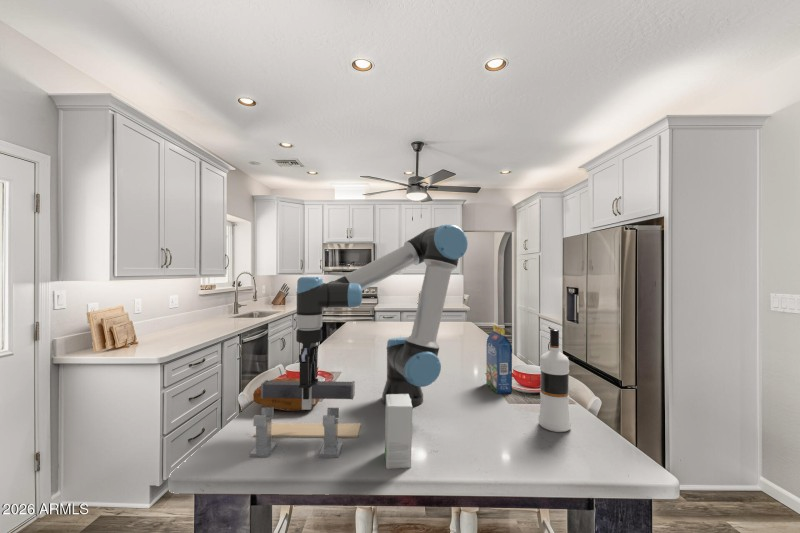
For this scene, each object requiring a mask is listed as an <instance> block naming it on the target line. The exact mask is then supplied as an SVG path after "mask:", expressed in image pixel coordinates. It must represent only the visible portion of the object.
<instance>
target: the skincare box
mask: <svg viewBox="0 0 800 533" xmlns="http://www.w3.org/2000/svg"><path fill="white" fill-rule="evenodd" d="M413 409H414V407H413V406H412V403H411V399H410V397H409V394H386V404H385V417H384V418H385V420H384V421H385V423H384V424H385V427H384V459H385V469H389V470H390V469H391V470H392V469H408V468H409V469H411V468H412V442H413V441H412V439H413Z"/></svg>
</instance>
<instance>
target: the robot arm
mask: <svg viewBox="0 0 800 533" xmlns="http://www.w3.org/2000/svg"><path fill="white" fill-rule="evenodd" d="M467 238H468V237H467V235H466V234H465V232H464V230H462V228H460V226H458V225H455V224H442V225H439V226H435V227H430V228H427V229H425V230H423V231H422V232H420V233H419V234H417V235H415V236H414V237H412V238H410V239H409V240H406V241H405V242H404V244H403V246H401V247H399V248H397V249H395V250H393V251H391V252H388V253H386V254H385V255H383V256H381V257H379V258H377V259H375V260H373V261H371V262H369V263H367V264H365V265H363V266H361V267H359V268H358V269H355V270H353V271H350V272H349V273H348V274H345V275H343V276H342V277H339V278H337V279H335V280H331V281H329V282H327V283H325V282H324V281H323V280H324V279H323V277H321V276H302V277H299V278H298V279H297V283H296V317H295V318H294V320H295V321H296V328H297V330H296V331H295V332H296V334H295V335H296V336H295V338H296V342H297V343H299V344H302V348H301V349H300V354H299V355H298V360H299V378H300V386H299V388H302V410H301V411H305V410H307V411H309V410H312V408H313V407H312V404H315V399H312V387H311V381H319V378H317V377H318V358H319V357H318V356H319V354H318V352H319V345H318V344H317V343H320V342H322V341H323V329H322V327H323V309H330V308H331V309H333V308H334V309H336V308H341V309H342V308H348V309H351V308H358V307H360V306H361V304H362V301H363V291H364V290H366V289H368V288H370V287H372V286H374V285H376V284H377V283H379V282H381V281H383V280H385V279H388V278H389V277H392V276H393V275H395V274H397V273H399V272H401V271H402V270H405V269H406V268H408V267H410V266H412V265H413V266H418V265H420V264H422V263H424V264H425V265H426V267H425V272H424V275H423V281H422V286H421V290H420V294H419V299H418V303H417V308H416V313H415V316H414V317H415V318H414V320H413V325H412V330H411V334H410V335H409V336H407V337H406V336H405V337H394V338H393V337H392V338H389V339H388V340H387V343H386V344H387V345H386V381H385V384H384V387H383V391H382V394H381V401H382V403H383V404H384V405H386V394H409V397H410V399H411V403H412V406H413V408H414V407H419V406H420V405H421V404H422V403H423V402H424V393H423V390H422V387H423V388H424V387H428V386H430V385H432V383H435V382H436V381H437V379H438V378H439V376H440V374H441V371H442V364H441V361H440V358H439V357H438V355H439V352H440V351H439V350H440V345H439V344H438V342H437V338H438V334H439V329H440V324H441V320H442V316H443V310H444V306H445V302H446V297H447V293H448V287H449V284H450V279H451V275H452V274H451V273H452V272H453V271H454V270H455V269H457V268H458V265H459V264H458V263H459V259H460V258H462V257H463V256H464V255H465V254H466V252H467V249H468V242H469V241H468V239H467Z"/></svg>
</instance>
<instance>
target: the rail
mask: <svg viewBox="0 0 800 533" xmlns="http://www.w3.org/2000/svg"><path fill="white" fill-rule="evenodd" d="M260 386H261V398H300V399H302V388H299V386H300V381H270V380H268V379H265V380H264V381H263V382H262V383H261V384H260ZM311 387H312V399H319V400H354V398H355V396H356V395H355V392H356V391H355V390H356V389H355V388H356V381H355V380H352V381H327V380H326V381H323V380H322V381H320V380H318V381H311Z"/></svg>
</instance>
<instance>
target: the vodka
mask: <svg viewBox="0 0 800 533" xmlns="http://www.w3.org/2000/svg"><path fill="white" fill-rule="evenodd" d="M539 364H540V365H539V366H540V368H539V369H540V392H539V395H540V405H539V406H540V409H539V414H538V419H537V420H538V424H539V425H540V426H541V427H542V428H543V429H545V430H547V431H549V432H550V431H551V432H553V433H565V432H567V431H569V430H570V429H571V427H572V421H571V418H570V417H571V416H570V406H569V404H570V395H569V394H570V393H569V391H570V390H569V389H570V385H569V383H570V374H569V373H570V360H569V358H568V357H567V355H565V354H564V353H562V352H561V351H560V330H558V329H555V328H554V329H553V328H551V329H550V330H549V350H547V351H546V352H545V353H543V354H542V355H541V356H540V359H539Z"/></svg>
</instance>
